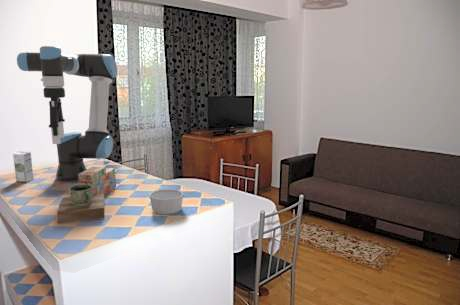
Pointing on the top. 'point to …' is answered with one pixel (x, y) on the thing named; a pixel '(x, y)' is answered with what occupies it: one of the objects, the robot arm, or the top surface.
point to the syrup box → (23, 166)
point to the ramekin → (166, 201)
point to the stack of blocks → (99, 179)
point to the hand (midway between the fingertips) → (58, 140)
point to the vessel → (81, 194)
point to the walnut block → (81, 210)
